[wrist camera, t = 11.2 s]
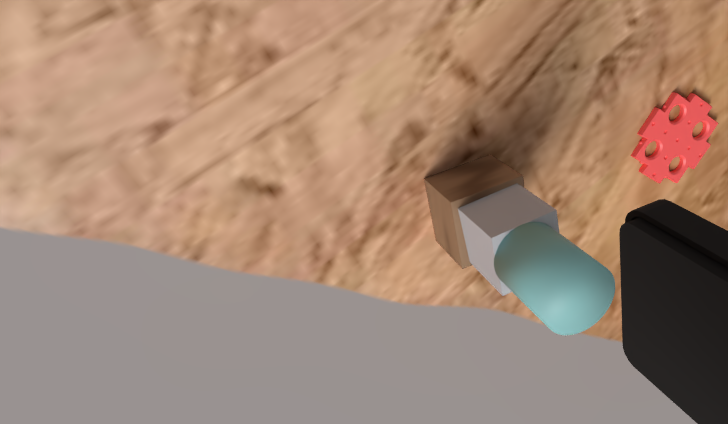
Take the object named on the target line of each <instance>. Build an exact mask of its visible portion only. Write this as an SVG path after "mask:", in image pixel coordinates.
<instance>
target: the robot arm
mask: <svg viewBox="0 0 728 424" xmlns="http://www.w3.org/2000/svg"><path fill="white" fill-rule="evenodd" d="M620 265H621V301H622V337H623V349H624V352H625V355H626V356H627V358H628V360H629V361H630V363H631V364H632V365H633V366H634V367H635V368H636V369H637V370H638V371H639V372H640V373H642V374H643V375H644V376H645V377H646V378H647V379H648V380H649V381H651V382H652V383H653V384H654V385H655V386H656V387H657V388H658V389H659V390H661V391H662V392H663V393H664V394H665V395H666V396H667V397H668V398H670V399H671V400H672V401H673V402H674V403H675V404H676V405H677V406H678V407H680V408H681V409H682V410H683V411H684V412H685V413H686V414H687V415H689V416H690V417H691V418H692V419H693V420H694V421H695V422H696V423H698V424H728V231H727V230H725V229H723V228H721V227H719V226H717V225H715V224H713V223H711V222H709V221H707V220H705V219H703V218H702V217H700V216H698V215H696V214H694V213H692V212H690V211H688V210H686V209H684V208H682V207H680V206H678V205H676V204H674V203H673V202H671V201H668V200H665V199H663V200H657V201H655V202H652V203H650V204H647V205H645V206H642V207H640V208H637V209H635V210H632V211H631V212H629V213H628V214H627V216H626V219H625V223H624V224H623V225H622V226H621V228H620Z"/></svg>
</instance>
